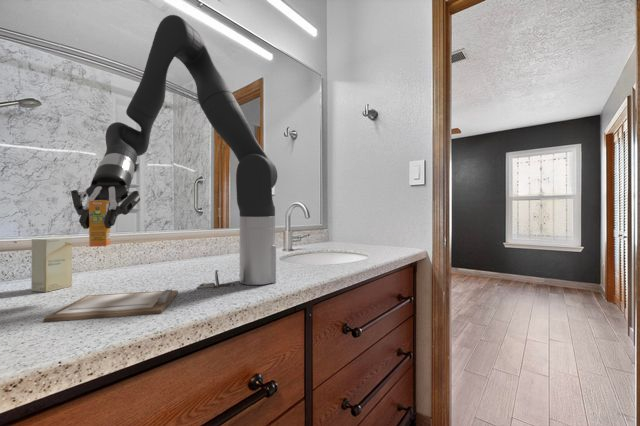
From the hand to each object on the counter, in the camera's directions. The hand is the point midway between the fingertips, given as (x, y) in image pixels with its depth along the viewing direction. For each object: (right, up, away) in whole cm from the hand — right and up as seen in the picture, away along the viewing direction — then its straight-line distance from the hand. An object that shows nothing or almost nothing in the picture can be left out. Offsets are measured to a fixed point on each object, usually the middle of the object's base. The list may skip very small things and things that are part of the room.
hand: (96, 225), depth 63 cm
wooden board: (+8, -16, -4) cm, 18 cm away
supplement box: (-1, -5, +2) cm, 5 cm away
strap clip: (+22, -16, +10) cm, 29 cm away
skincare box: (-17, -16, +8) cm, 24 cm away
